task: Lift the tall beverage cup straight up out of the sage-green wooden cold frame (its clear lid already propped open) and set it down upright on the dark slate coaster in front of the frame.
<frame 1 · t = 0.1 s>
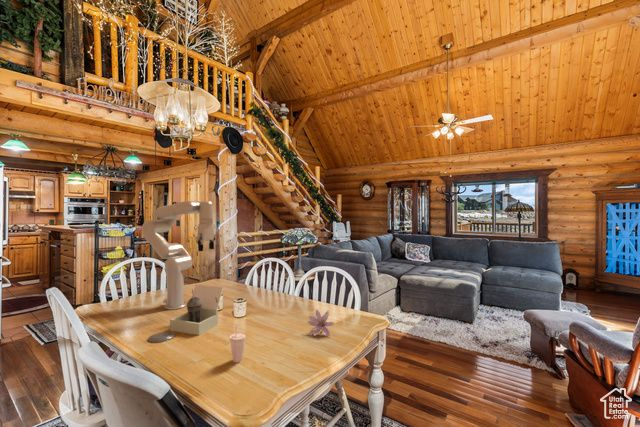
hand: (206, 250, 180), 37 cm above the table, tool pointing down, fingers open, 9 cm apart
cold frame: (194, 327, 154), on the table
water lily: (319, 334, 146), on the table
coaster: (161, 337, 142), on the table
beverage cup: (194, 327, 154), resting in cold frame
smoothie: (237, 360, 120), on the table
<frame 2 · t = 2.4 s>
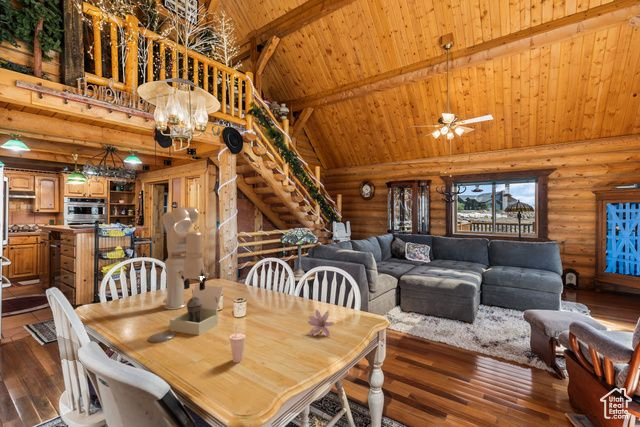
hand: (194, 289, 154), 20 cm above the table, tool pointing down, fingers open, 9 cm apart
nothing on the table moved.
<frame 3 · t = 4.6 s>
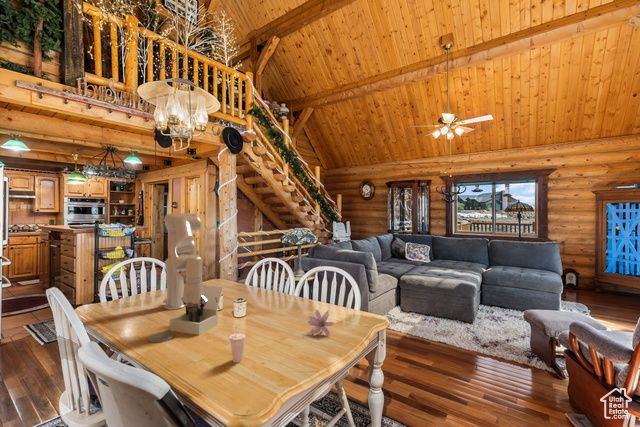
hand: (194, 314, 154), 7 cm above the table, tool pointing down, fingers closed on beverage cup, 6 cm apart
beverage cup: (194, 327, 154), resting in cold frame, touching gripper
everything else where it was.
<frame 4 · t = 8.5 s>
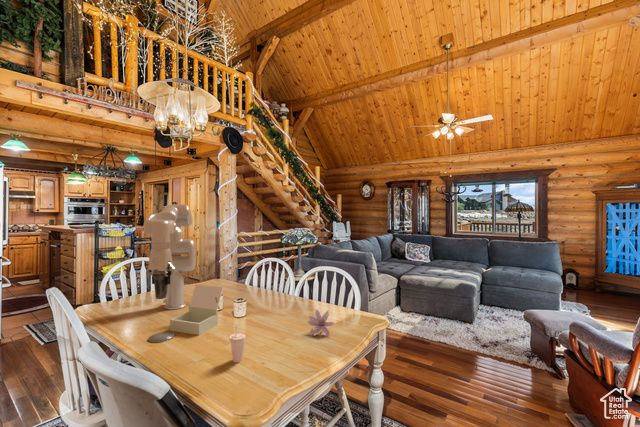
hand: (161, 283, 142), 26 cm above the table, tool pointing down, fingers closed on beverage cup, 6 cm apart
beverage cup: (161, 298, 142), point 19 cm above the table, touching gripper
everything else where it was.
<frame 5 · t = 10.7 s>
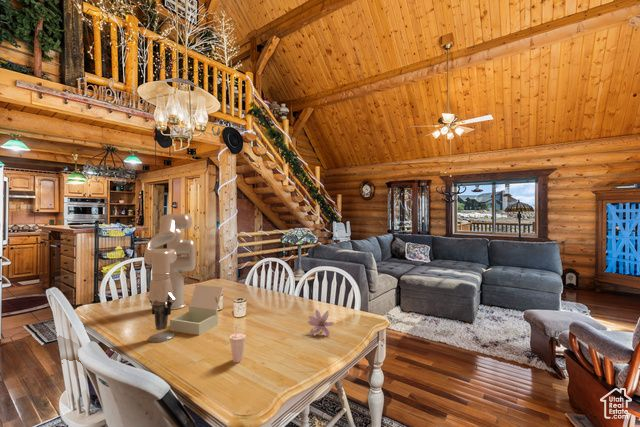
hand: (161, 314, 142), 11 cm above the table, tool pointing down, fingers closed on beverage cup, 6 cm apart
beverage cup: (161, 328, 142), point 4 cm above the table, touching gripper
everything else where it was.
when the fingers open (8 cm above the table, at t = 12.6 s): beverage cup stays where it is, resting on coaster.
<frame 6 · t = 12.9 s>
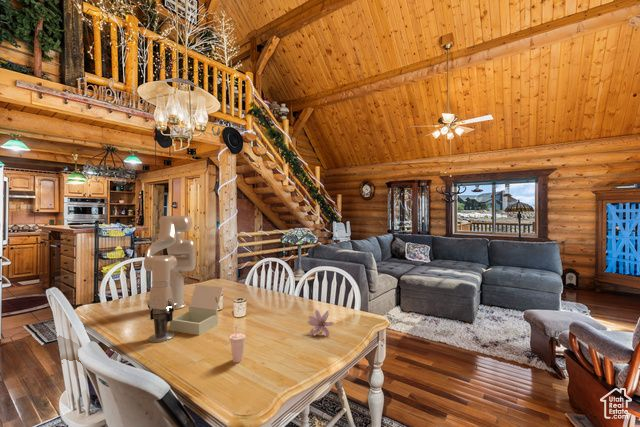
hand: (161, 319, 142), 8 cm above the table, tool pointing down, fingers open, 9 cm apart
beverage cup: (161, 336, 142), resting on coaster
everything else where it was.
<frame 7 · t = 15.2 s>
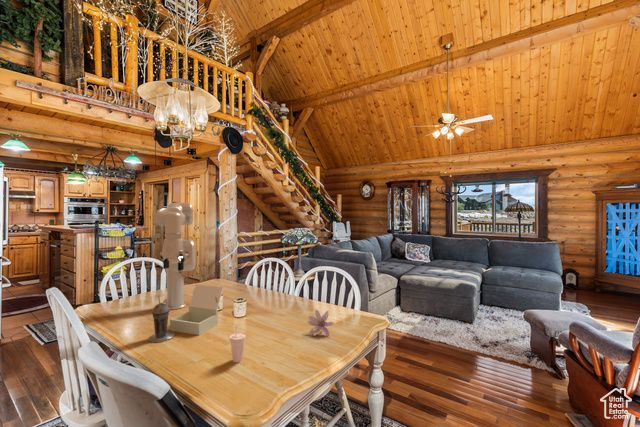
hand: (173, 269, 155), 30 cm above the table, tool pointing down, fingers open, 9 cm apart
nothing on the table moved.
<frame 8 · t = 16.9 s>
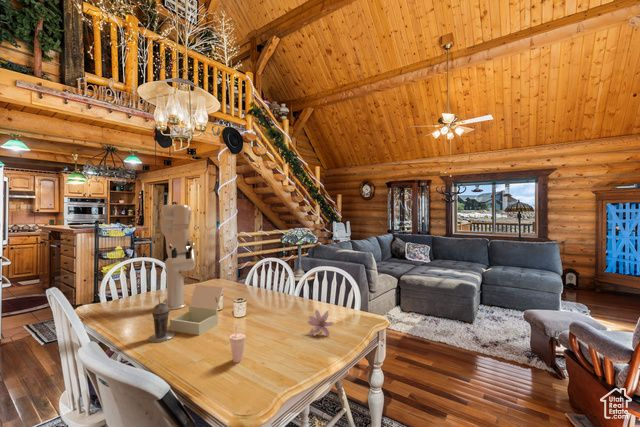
hand: (181, 258, 164), 34 cm above the table, tool pointing down, fingers open, 9 cm apart
nothing on the table moved.
at the end: beverage cup 0.5 cm from the coaster (horizontally); beverage cup tilted 0°; beverage cup resting on coaster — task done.
